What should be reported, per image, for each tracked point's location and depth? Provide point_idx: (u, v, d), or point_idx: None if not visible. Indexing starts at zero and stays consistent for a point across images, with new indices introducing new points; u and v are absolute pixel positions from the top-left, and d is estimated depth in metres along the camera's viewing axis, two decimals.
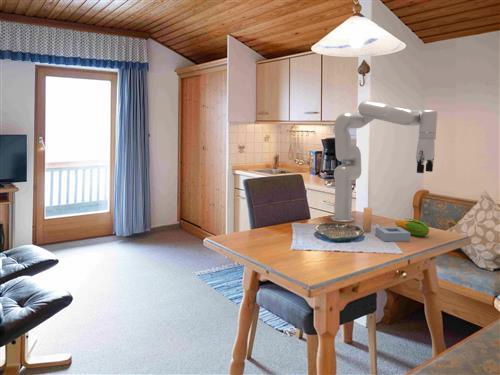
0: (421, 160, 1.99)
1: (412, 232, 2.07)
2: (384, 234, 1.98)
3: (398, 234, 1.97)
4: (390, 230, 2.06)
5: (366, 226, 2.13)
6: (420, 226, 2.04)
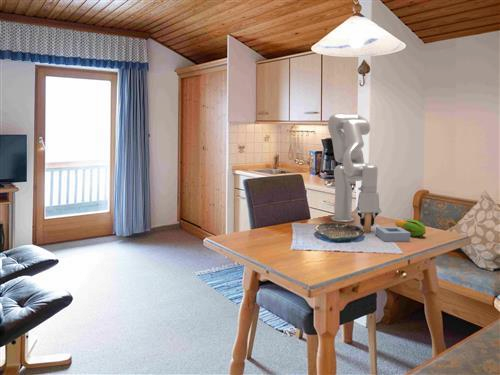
0: None
1: None
2: (384, 234, 1.98)
3: (398, 234, 1.97)
4: (390, 230, 2.06)
5: (366, 226, 2.13)
6: (416, 226, 2.04)
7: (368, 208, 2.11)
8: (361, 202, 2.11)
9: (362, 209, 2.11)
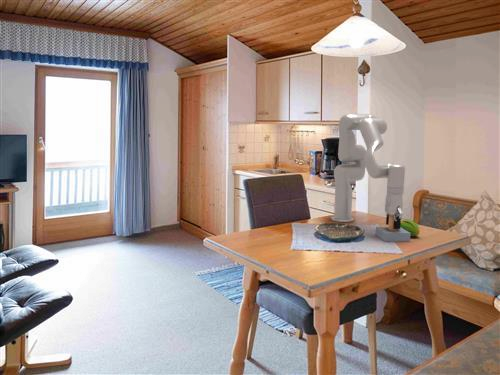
0: None
1: None
2: (384, 234, 1.98)
3: (398, 234, 1.97)
4: None
5: None
6: (409, 226, 2.04)
7: (387, 209, 2.02)
8: None
9: (385, 208, 2.05)
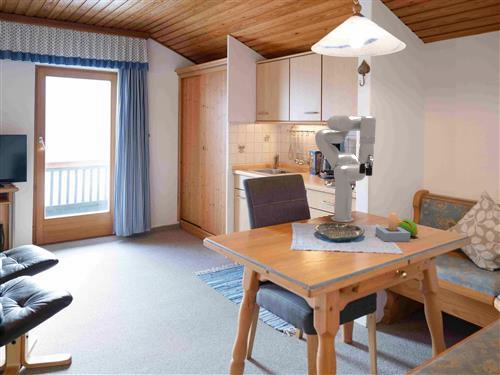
0: None
1: None
2: (384, 234, 1.98)
3: (398, 234, 1.97)
4: None
5: None
6: (407, 226, 2.04)
7: (360, 158, 2.17)
8: None
9: (358, 159, 2.20)
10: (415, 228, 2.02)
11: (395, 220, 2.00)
